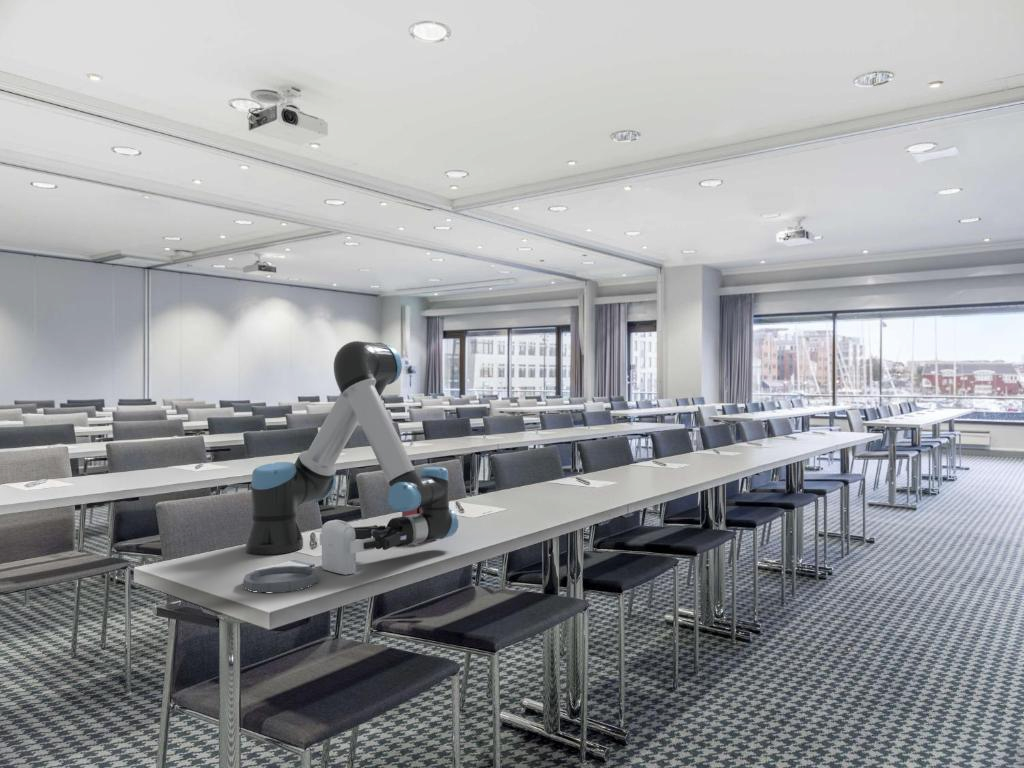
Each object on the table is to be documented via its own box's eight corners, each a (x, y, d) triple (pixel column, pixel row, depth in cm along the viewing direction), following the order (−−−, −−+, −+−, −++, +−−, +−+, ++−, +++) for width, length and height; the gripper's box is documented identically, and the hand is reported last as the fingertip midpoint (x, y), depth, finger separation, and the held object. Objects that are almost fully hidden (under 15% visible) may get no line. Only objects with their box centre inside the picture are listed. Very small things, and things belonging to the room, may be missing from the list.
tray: (232, 583, 171) (232, 575, 171) (296, 570, 182) (296, 562, 182) (264, 597, 159) (264, 588, 159) (330, 582, 170) (330, 574, 170)
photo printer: (319, 569, 183) (318, 519, 183) (334, 566, 186) (333, 516, 186) (343, 576, 176) (342, 524, 176) (358, 573, 179) (358, 521, 179)
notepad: (253, 571, 182) (253, 569, 182) (295, 561, 191) (295, 559, 191) (273, 576, 177) (273, 574, 177) (314, 566, 186) (314, 564, 186)
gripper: (436, 552, 186) (364, 567, 171) (379, 538, 204) (309, 551, 189) (436, 522, 186) (363, 535, 171) (378, 510, 204) (308, 521, 189)
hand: (334, 543), depth 180 cm, fingers open, 13 cm apart
